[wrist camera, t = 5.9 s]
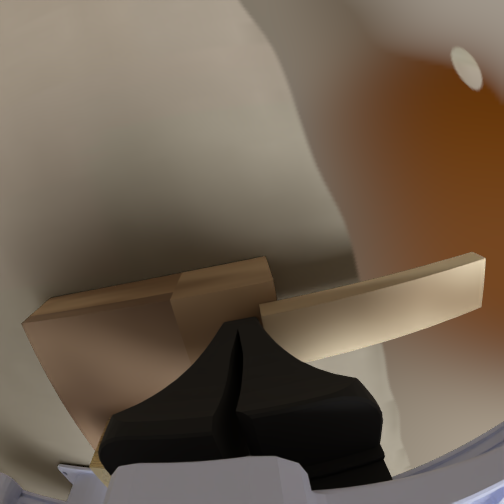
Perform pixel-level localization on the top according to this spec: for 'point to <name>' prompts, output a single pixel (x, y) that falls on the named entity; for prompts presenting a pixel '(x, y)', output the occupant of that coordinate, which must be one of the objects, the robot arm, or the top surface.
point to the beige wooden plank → (375, 308)
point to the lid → (108, 359)
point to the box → (190, 298)
